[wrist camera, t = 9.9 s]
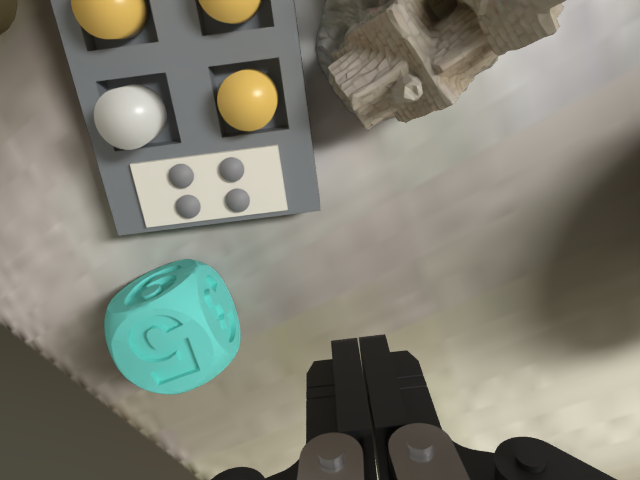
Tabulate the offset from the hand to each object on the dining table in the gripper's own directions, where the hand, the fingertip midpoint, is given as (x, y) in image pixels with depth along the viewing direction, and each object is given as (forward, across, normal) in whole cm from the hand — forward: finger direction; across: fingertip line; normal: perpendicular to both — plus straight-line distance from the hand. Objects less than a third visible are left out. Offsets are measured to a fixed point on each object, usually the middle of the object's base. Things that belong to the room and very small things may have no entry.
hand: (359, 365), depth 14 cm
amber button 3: (+27, +5, -5) cm, 28 cm away
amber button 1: (+27, +13, -12) cm, 32 cm away
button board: (+29, +9, -6) cm, 31 cm away
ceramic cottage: (+29, -7, -11) cm, 32 cm away
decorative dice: (+29, +14, +12) cm, 35 cm away
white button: (+26, +13, -5) cm, 29 cm away
